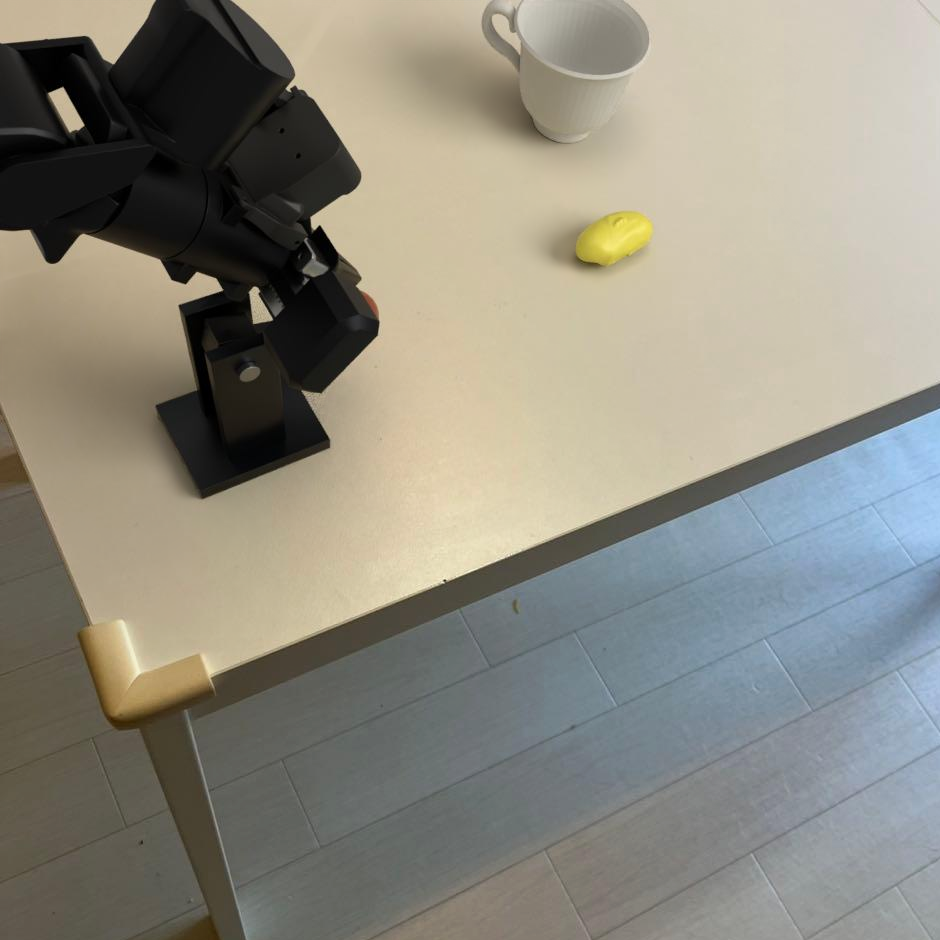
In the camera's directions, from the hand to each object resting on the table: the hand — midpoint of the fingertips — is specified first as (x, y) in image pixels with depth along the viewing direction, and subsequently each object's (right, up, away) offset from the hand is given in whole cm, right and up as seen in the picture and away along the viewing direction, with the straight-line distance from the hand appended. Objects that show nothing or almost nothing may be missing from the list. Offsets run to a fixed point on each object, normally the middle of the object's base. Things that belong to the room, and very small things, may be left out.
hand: (355, 279), depth 68 cm
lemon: (+18, +8, +22) cm, 30 cm away
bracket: (-10, -9, +8) cm, 16 cm away
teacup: (+13, +23, +29) cm, 39 cm away
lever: (-5, -4, +2) cm, 7 cm away
